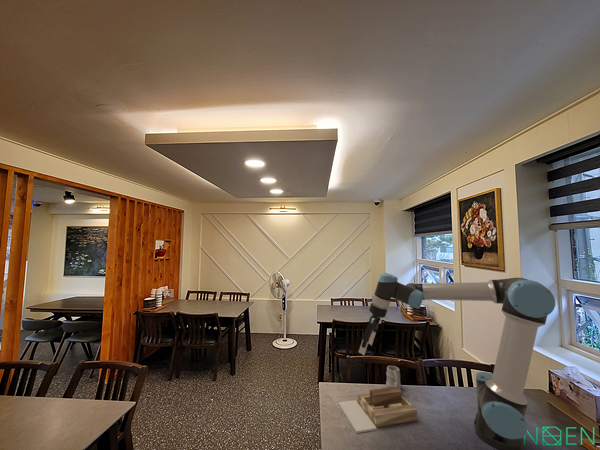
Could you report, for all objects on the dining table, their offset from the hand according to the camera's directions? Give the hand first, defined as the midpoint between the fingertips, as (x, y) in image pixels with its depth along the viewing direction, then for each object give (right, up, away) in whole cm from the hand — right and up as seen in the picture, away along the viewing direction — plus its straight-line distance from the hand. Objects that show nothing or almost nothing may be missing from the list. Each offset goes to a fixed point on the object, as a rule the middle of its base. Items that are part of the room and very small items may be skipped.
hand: (365, 348), depth 112 cm
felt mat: (-6, -27, -6) cm, 28 cm away
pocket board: (+9, -28, -2) cm, 29 cm away
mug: (+20, -30, +15) cm, 39 cm away
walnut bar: (+9, -24, -2) cm, 25 cm away
